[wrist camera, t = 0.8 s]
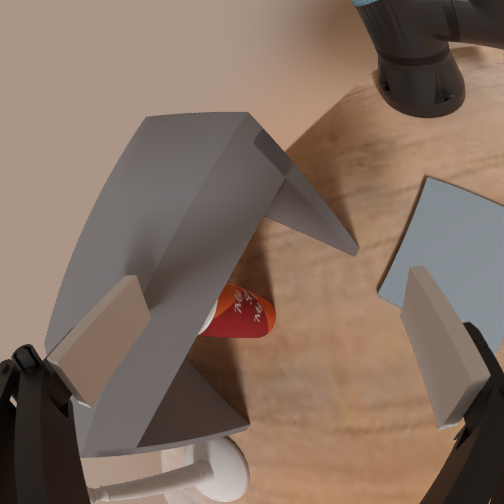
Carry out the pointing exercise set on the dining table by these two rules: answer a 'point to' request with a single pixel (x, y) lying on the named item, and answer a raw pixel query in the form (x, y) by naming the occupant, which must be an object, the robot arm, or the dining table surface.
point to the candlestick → (190, 475)
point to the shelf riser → (178, 268)
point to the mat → (456, 256)
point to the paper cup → (239, 315)
